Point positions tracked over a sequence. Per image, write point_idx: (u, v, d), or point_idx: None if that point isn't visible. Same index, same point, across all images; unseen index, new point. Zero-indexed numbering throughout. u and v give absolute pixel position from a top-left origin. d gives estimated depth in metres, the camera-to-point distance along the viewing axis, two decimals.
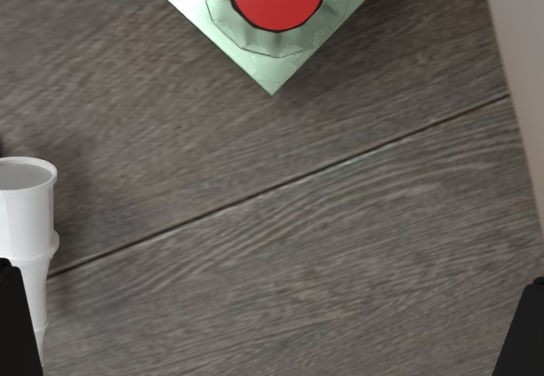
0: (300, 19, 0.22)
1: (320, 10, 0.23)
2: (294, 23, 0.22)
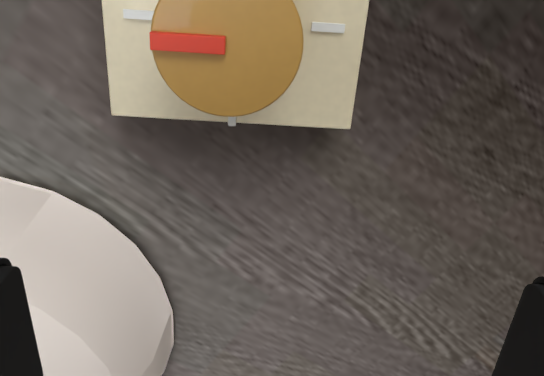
0: None
1: None
2: None
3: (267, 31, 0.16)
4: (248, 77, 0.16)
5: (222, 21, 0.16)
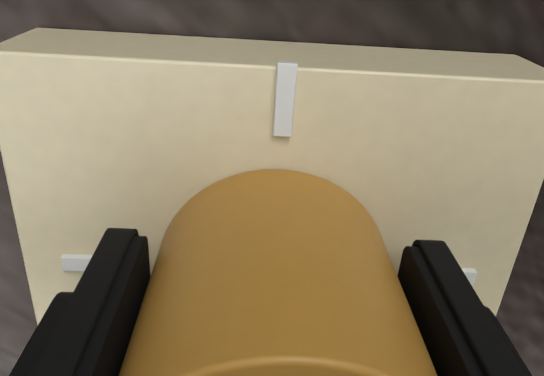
0: None
1: None
2: None
3: None
4: None
5: None
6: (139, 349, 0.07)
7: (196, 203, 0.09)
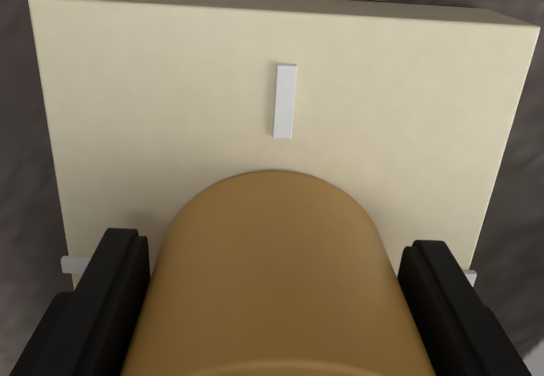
0: None
1: None
2: None
3: None
4: None
5: None
6: (138, 352, 0.07)
7: (195, 206, 0.09)
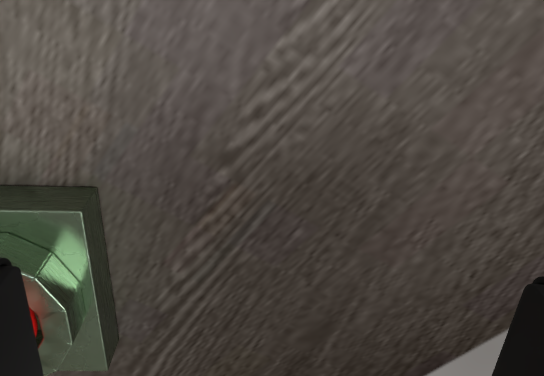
0: None
1: None
2: None
3: None
4: None
5: None
6: None
7: None
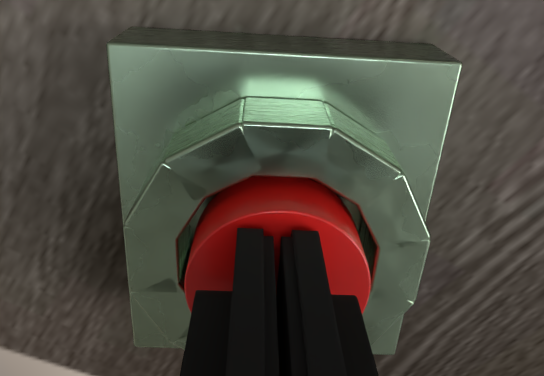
0: (193, 271, 0.10)
1: (172, 277, 0.11)
2: (196, 260, 0.10)
3: None
4: None
5: None
6: None
7: None
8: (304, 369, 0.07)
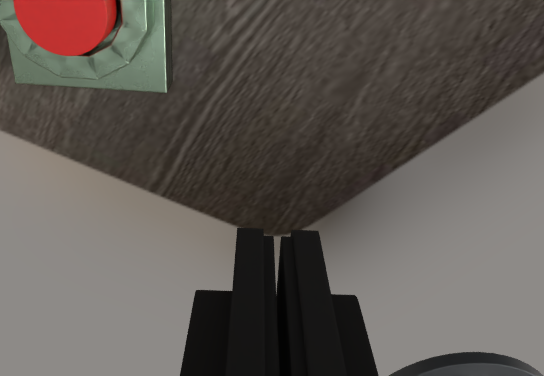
0: None
1: None
2: None
3: None
4: None
5: None
6: None
7: None
8: (304, 369, 0.07)
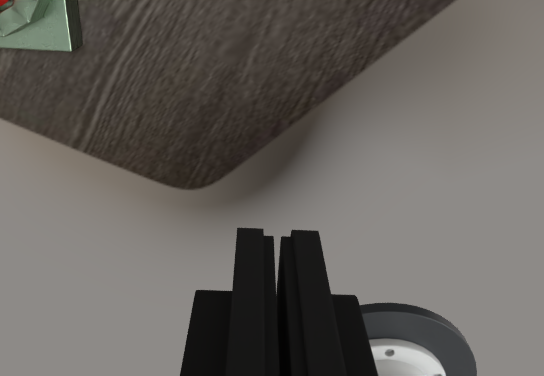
0: None
1: None
2: None
3: None
4: None
5: None
6: None
7: None
8: (304, 368, 0.07)
